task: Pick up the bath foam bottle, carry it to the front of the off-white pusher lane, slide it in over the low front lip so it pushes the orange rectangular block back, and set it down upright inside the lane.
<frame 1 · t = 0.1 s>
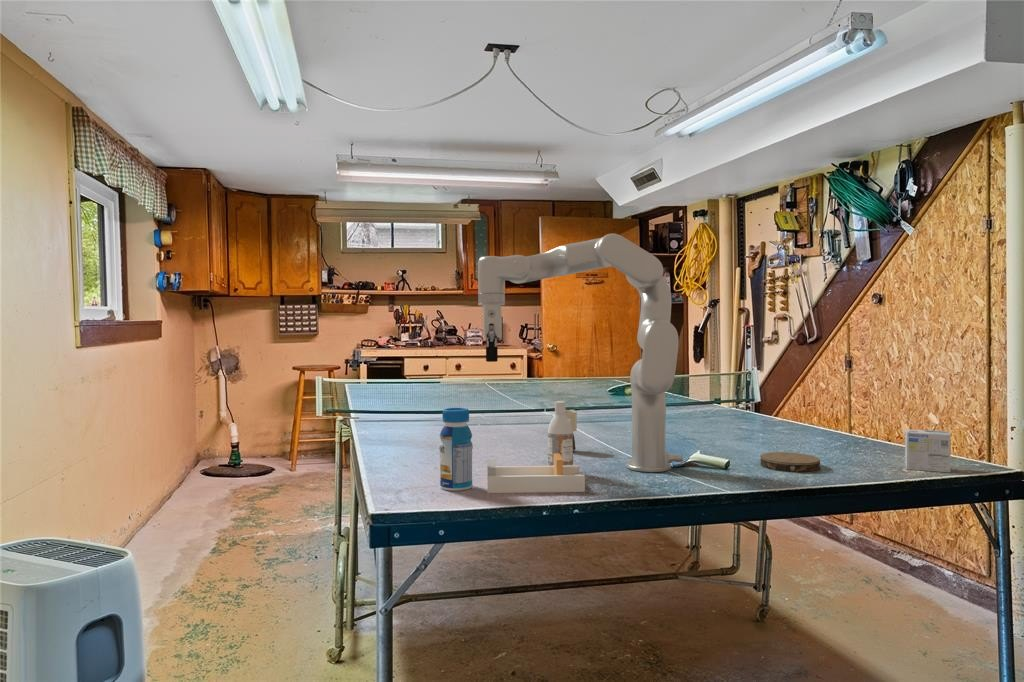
hand: (491, 360, 188), 31 cm above the table, tool pointing down, fingers open, 9 cm apart
bath foam: (560, 474, 183), on the table
character mug: (565, 451, 215), on the table
beverage bottle: (456, 488, 168), on the table
light bulb box: (926, 469, 187), on the table
pusher lane: (534, 486, 169), on the table
brown round disc: (789, 468, 191), on the table
orange rectangular block: (558, 468, 169), point 5 cm above the table, slide at 0.0 cm
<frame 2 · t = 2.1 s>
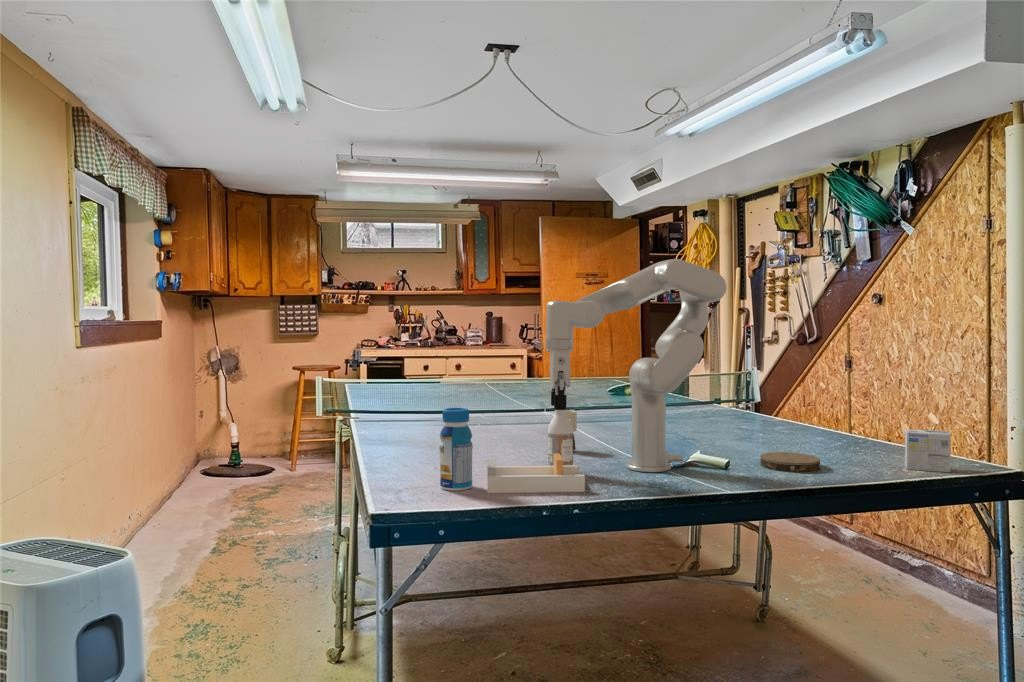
hand: (558, 407, 182), 18 cm above the table, tool pointing down, fingers open, 9 cm apart
nothing on the table moved.
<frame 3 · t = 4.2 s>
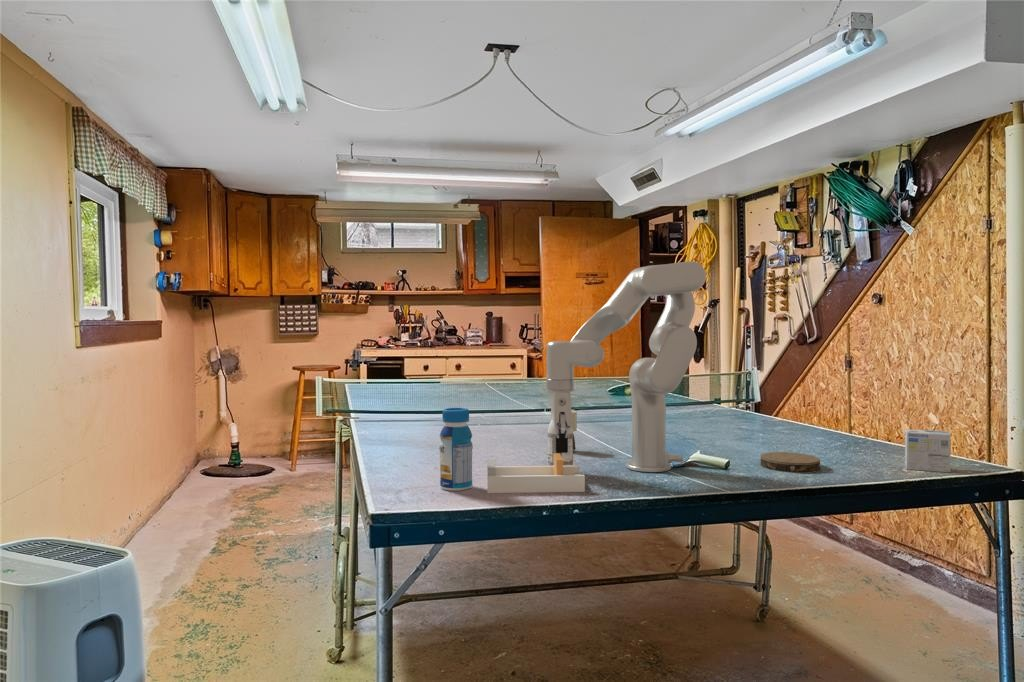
hand: (560, 449, 183), 7 cm above the table, tool pointing down, fingers closed on bath foam, 7 cm apart
bath foam: (560, 474, 183), on the table, touching gripper
everything else where it was.
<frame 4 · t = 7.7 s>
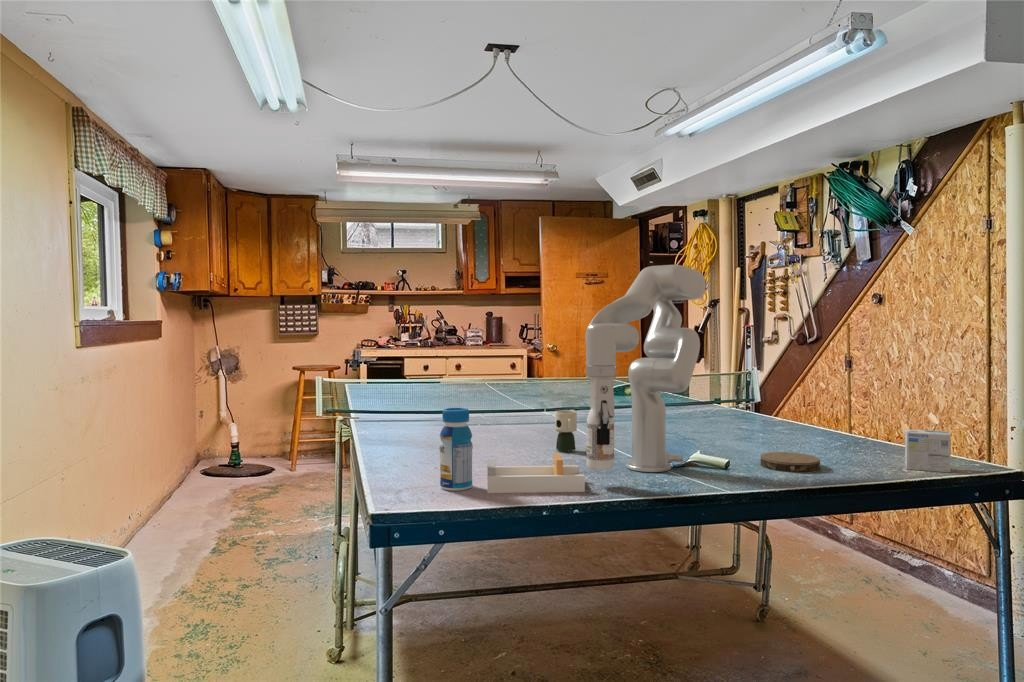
hand: (600, 441, 169), 11 cm above the table, tool pointing down, fingers closed on bath foam, 7 cm apart
bath foam: (600, 468, 169), point 4 cm above the table, touching gripper
everything else where it was.
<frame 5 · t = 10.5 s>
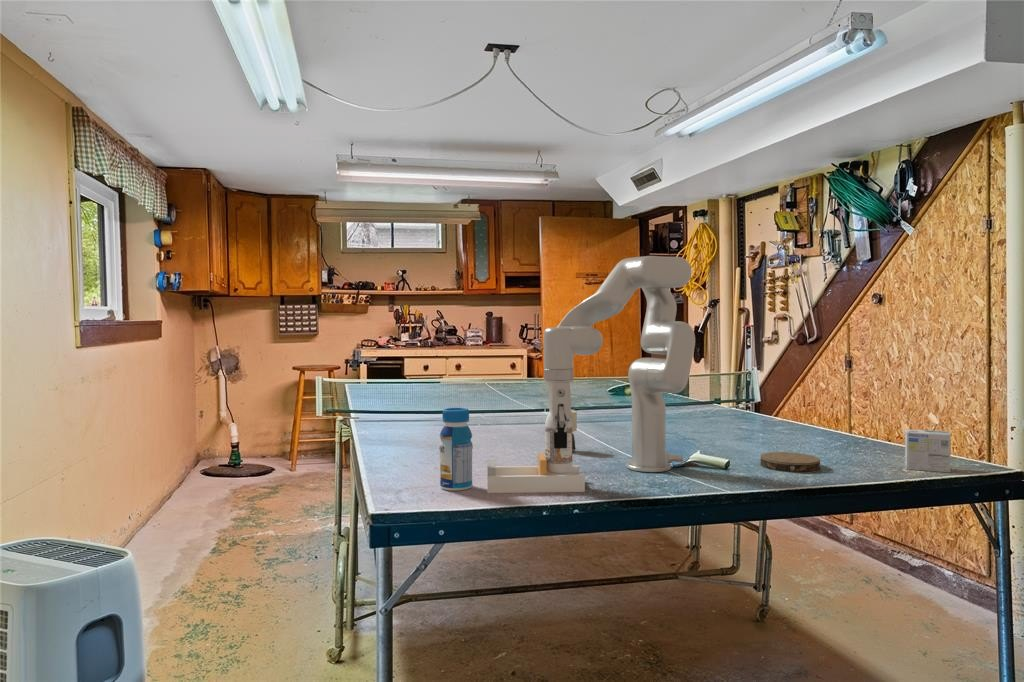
hand: (559, 444, 169), 11 cm above the table, tool pointing down, fingers closed on bath foam, 7 cm apart
bath foam: (558, 471, 169), point 4 cm above the table, touching gripper, orange rectangular block
orange rectangular block: (542, 468, 169), point 5 cm above the table, slide at 4.1 cm, touching bath foam
everything else where it was.
when the fingers open (9 cm above the table, at t = 11.5 s): bath foam stays where it is, resting on pusher lane, orange rectangular block.
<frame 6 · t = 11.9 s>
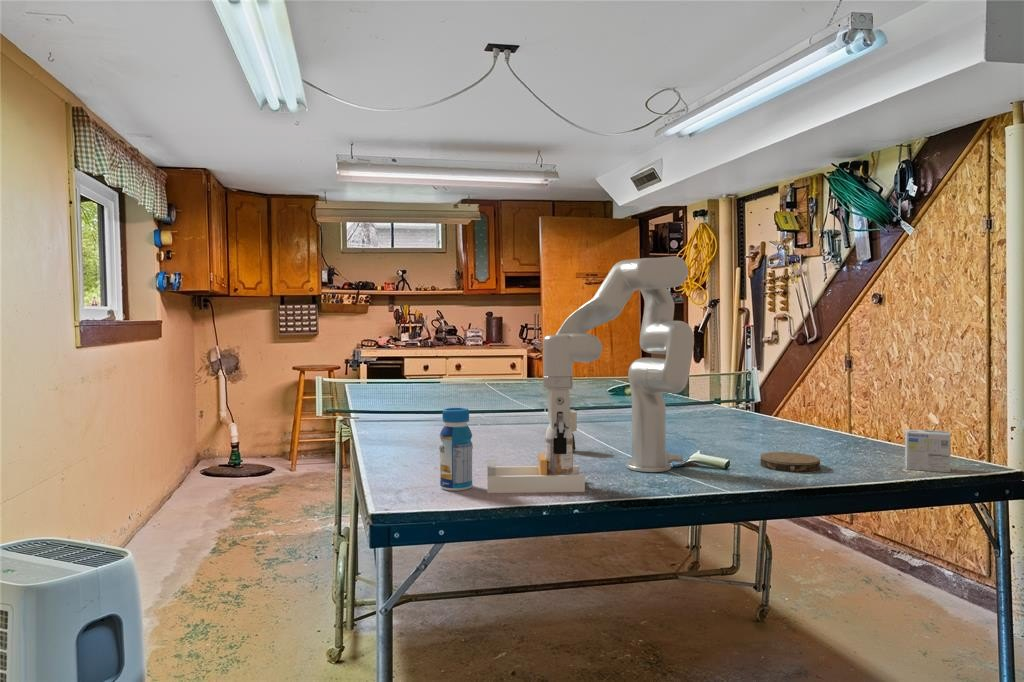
hand: (558, 450, 169), 9 cm above the table, tool pointing down, fingers open, 9 cm apart
bath foam: (559, 482, 169), point 1 cm above the table, touching pusher lane, orange rectangular block
everything else where it was.
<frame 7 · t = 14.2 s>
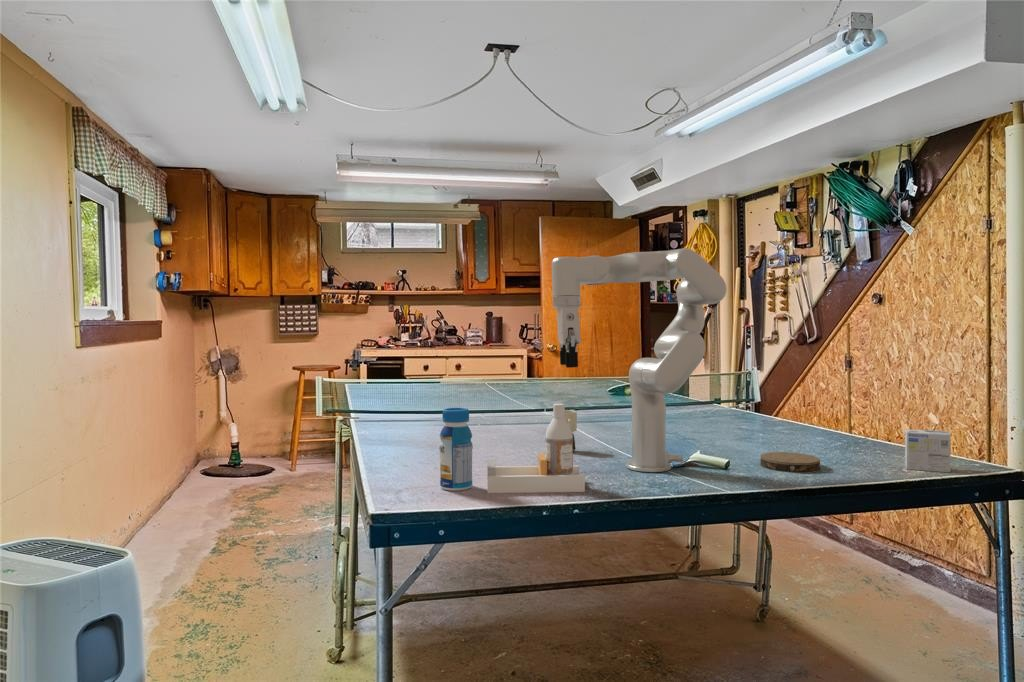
hand: (568, 365, 179), 30 cm above the table, tool pointing down, fingers open, 9 cm apart
nothing on the table moved.
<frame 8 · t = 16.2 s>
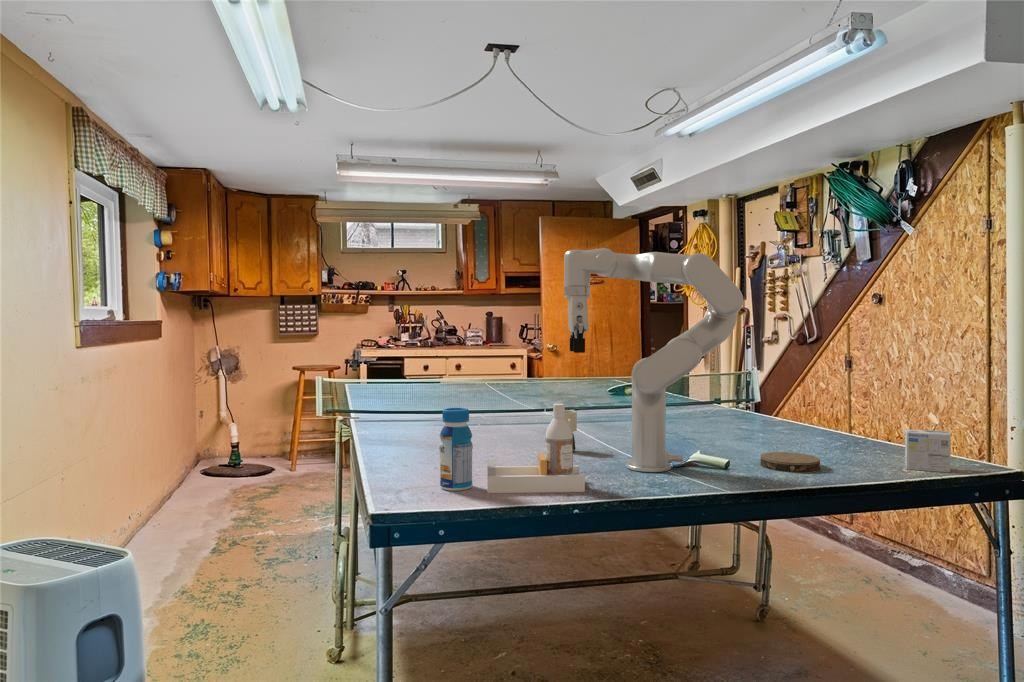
hand: (577, 351, 192), 33 cm above the table, tool pointing down, fingers open, 9 cm apart
nothing on the table moved.
at the end: bath foam inside the target area on the pusher lane (0.3 cm from its centre), point 0.8 cm above the pusher lane's base; orange rectangular block slide at 4.0 cm; bath foam tilted 0° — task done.
